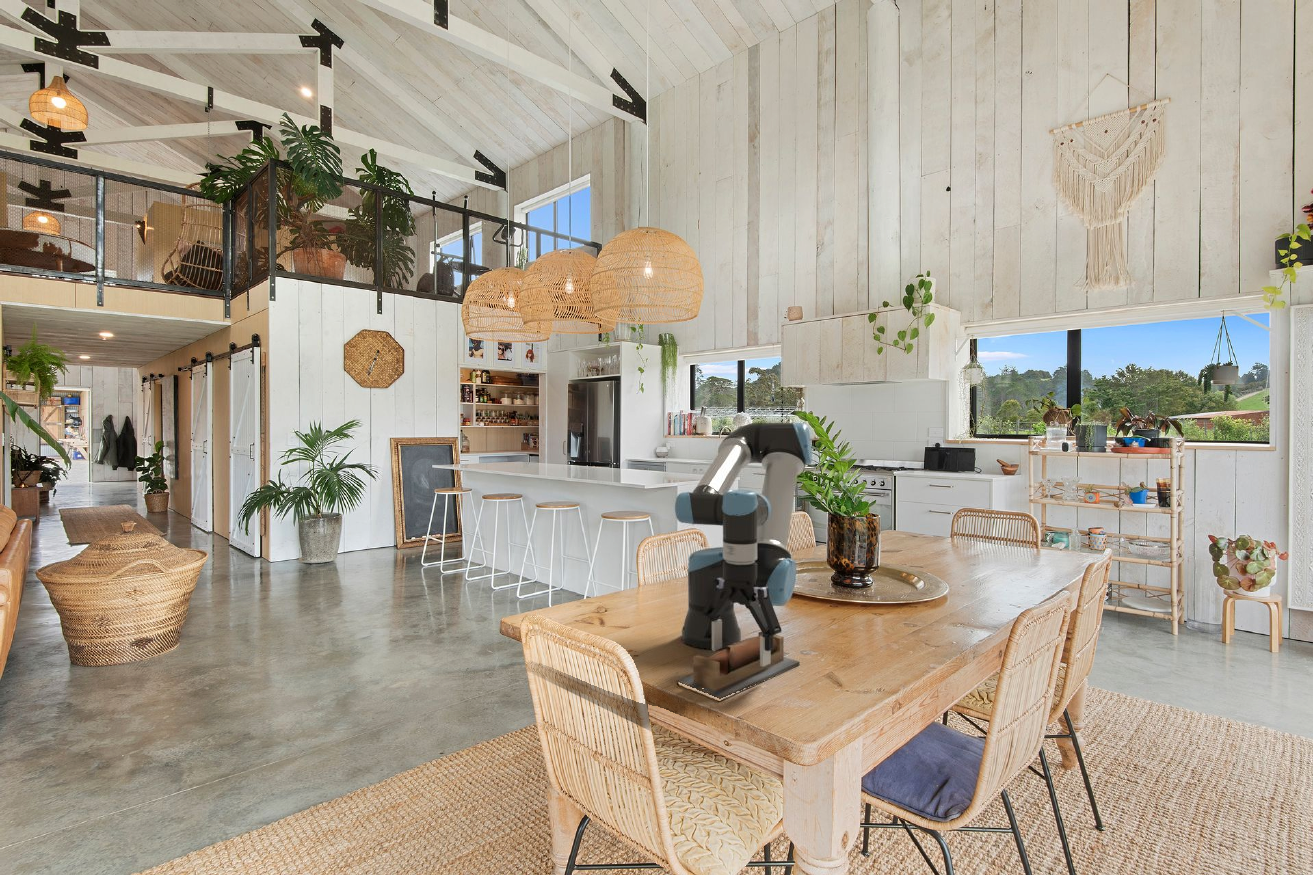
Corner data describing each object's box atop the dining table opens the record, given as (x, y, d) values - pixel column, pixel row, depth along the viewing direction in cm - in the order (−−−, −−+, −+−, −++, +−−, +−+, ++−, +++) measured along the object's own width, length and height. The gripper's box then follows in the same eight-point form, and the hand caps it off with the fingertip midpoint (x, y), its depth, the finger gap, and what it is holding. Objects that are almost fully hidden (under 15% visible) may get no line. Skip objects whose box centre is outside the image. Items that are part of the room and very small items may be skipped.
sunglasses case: (746, 642, 155) (759, 621, 153) (768, 664, 151) (781, 642, 149) (699, 664, 142) (711, 641, 139) (721, 688, 138) (735, 665, 135)
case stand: (676, 684, 140) (676, 655, 140) (757, 652, 160) (757, 626, 160) (719, 701, 132) (719, 670, 132) (799, 665, 151) (799, 637, 151)
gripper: (687, 555, 151) (687, 646, 152) (776, 572, 134) (776, 676, 134) (708, 550, 157) (709, 639, 157) (797, 566, 139) (797, 666, 139)
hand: (740, 656), depth 146 cm, fingers open, 13 cm apart
